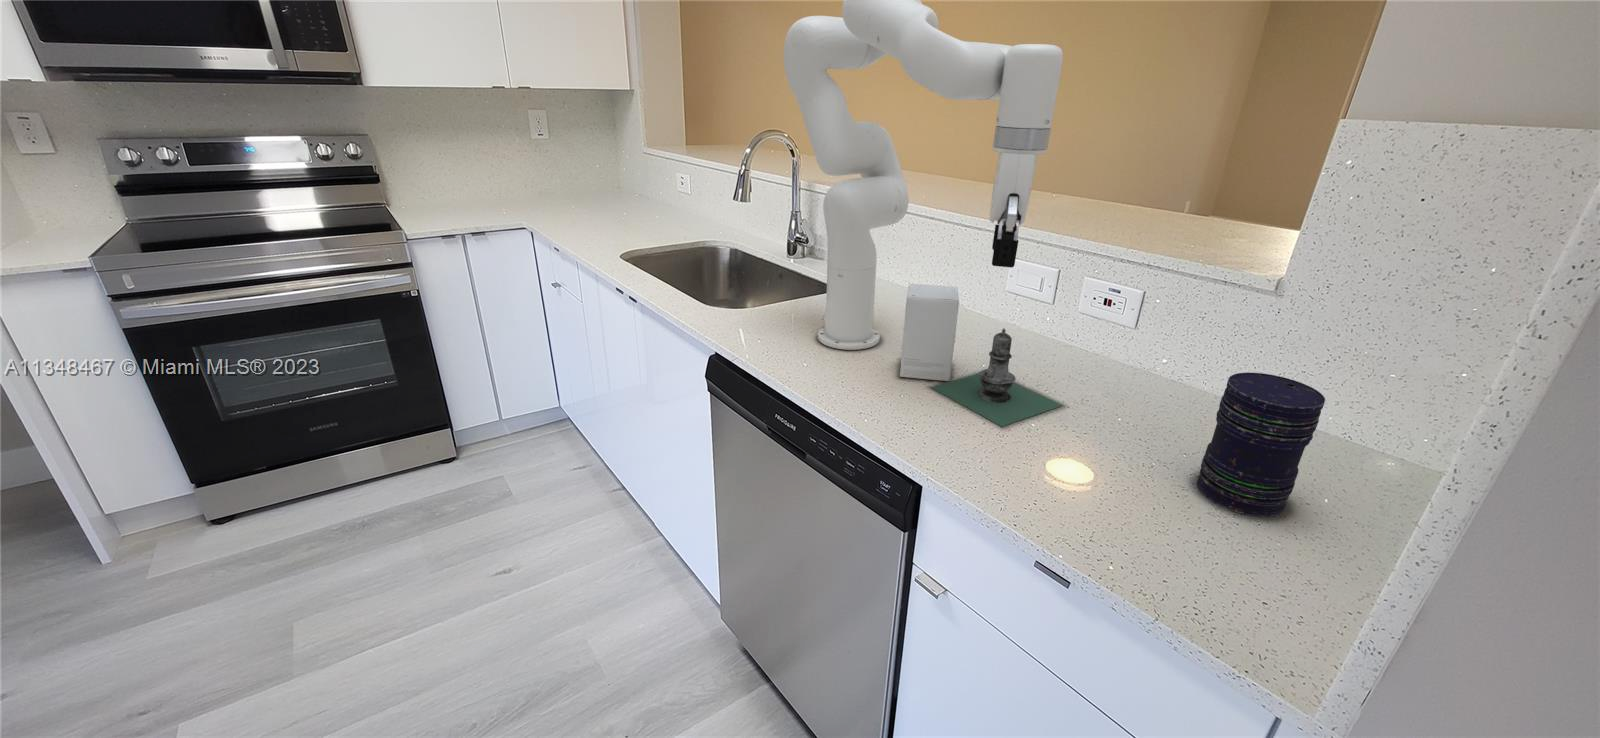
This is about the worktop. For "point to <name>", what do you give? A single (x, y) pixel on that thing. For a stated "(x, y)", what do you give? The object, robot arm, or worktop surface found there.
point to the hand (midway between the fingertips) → (1002, 258)
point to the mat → (1003, 413)
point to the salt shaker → (997, 371)
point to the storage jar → (1258, 443)
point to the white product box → (929, 331)
